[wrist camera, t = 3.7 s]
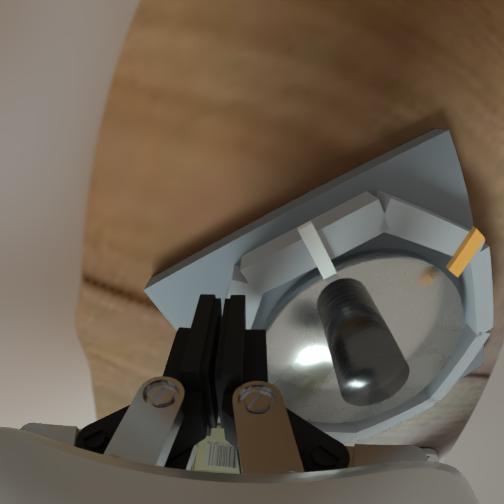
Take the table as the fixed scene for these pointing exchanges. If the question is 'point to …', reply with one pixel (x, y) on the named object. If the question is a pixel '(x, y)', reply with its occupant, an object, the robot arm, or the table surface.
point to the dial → (362, 335)
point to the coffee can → (216, 454)
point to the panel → (349, 242)
